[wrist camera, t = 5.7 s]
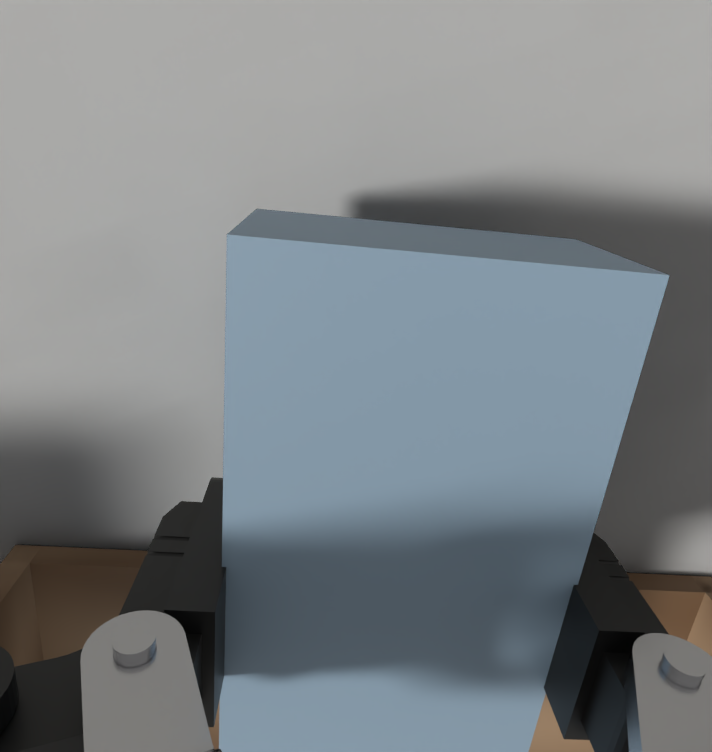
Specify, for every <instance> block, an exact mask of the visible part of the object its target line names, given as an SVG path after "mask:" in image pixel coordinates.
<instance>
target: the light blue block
mask: <svg viewBox="0 0 712 752" xmlns="http://www.w3.org/2000/svg"><path fill="white" fill-rule="evenodd" d="M669 276H670V275H668V274H665V273H663V272H660V271H657V270H655V269H652V268H650V267H647V266H644V265H642V264H639V263H637V262H634V261H631V260H629V259H626V258H624V257H621V256H618V255H616V254H613V253H611V252H608V251H605V250H603V249H600V248H597V247H595V246H592V245H590V244H587V243H584V242H582V241H579V240H577V239H568V238H558V237H547V236H537V235H526V234H516V233H505V232H495V231H484V230H474V229H463V228H453V227H442V226H432V225H421V224H411V223H401V222H390V221H380V220H369V219H359V218H348V217H338V216H327V215H317V214H306V213H296V212H285V211H275V210H264V209H256V210H255V211H254V212H252V213H251V214H250V215H249V216H248V217H247V218H246V219H244V220H243V221H242V222H241V223H240V224H239V225H237V226H236V227H235V228H234V229H233V230H232V231H230V232H229V233H228V234H227V262H226V326H225V390H224V454H223V518H222V567H226V606H225V658H224V679H223V684H222V689H221V694H220V710H219V749H221V751H222V752H529V748H530V745H531V742H532V738H533V735H534V731H535V728H536V725H537V721H538V718H539V715H540V711H541V708H542V704H543V701H544V698H545V694H546V692H545V690H544V685H545V681H546V678H547V674H548V671H549V668H550V664H551V661H552V657H553V654H554V651H555V647H556V644H557V640H558V637H559V634H560V630H561V627H562V623H563V620H564V616H565V613H566V610H567V606H568V603H569V599H570V596H571V593H572V589H573V586H574V585H578V583H579V580H580V576H581V573H582V569H583V566H584V563H585V559H586V556H587V553H588V549H589V546H590V542H591V539H592V536H593V532H594V529H595V526H596V522H597V519H598V515H599V512H600V509H601V505H602V502H603V499H604V495H605V492H606V488H607V485H608V482H609V478H610V475H611V472H612V468H613V465H614V461H615V458H616V455H617V451H618V448H619V444H620V441H621V438H622V434H623V431H624V428H625V424H626V421H627V417H628V414H629V411H630V407H631V404H632V401H633V397H634V394H635V390H636V387H637V384H638V380H639V377H640V374H641V370H642V367H643V363H644V360H645V357H646V353H647V350H648V347H649V343H650V340H651V336H652V333H653V330H654V326H655V323H656V320H657V316H658V313H659V309H660V306H661V303H662V299H663V296H664V293H665V289H666V286H667V282H668V279H669Z"/></svg>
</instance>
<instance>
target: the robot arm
mask: <svg viewBox="0 0 712 752" xmlns="http://www.w3.org/2000/svg"><path fill="white" fill-rule="evenodd" d="M222 518H223V478H213V477H212V478H211V480H210V482H209V485H208V488H207V491H206V493H205V496H204V499H203V502H184V501H181V502H180V503H179V504H178V505H176V506H175V507H174V508H173V509H172V510H170V511H169V512H168V513H167V514H166V515H165V516H163V518H162V520H161V522H160V525H159V527H158V529H157V531H156V534H155V538H154V539H153V540H152V543H151V545H150V547H149V549H148V553H147V555H146V556H145V558H144V560H143V563H142V565H141V567H140V569H139V571H138V574H137V576H136V578H135V580H134V583H133V585H132V587H131V589H130V591H129V594H128V596H127V598H126V600H125V603H124V605H123V607H122V609H121V611H120V614H119V616H117V617H115V618H113V619H111V620H109V621H107V622H105V623H104V624H103V625H101V626H100V627H99V628H97V629H96V630H95V631H94V632H93V633H92V634H91V636H90V637H89V638H88V639H87V641H86V643H85V645H84V646H83V648H82V649H80V650H78V651H76V652H73V653H70V654H68V655H64V656H60V657H57V658H52V659H48V660H43V661H38V662H34V663H29V664H25V665H20V666H15V667H14V663H13V659H12V657H11V655H10V654H9V653H8V652H7V651H6V650H5V649H4V648H2V647H0V752H222V751H221V749H216V750H215V749H214V746H213V743H212V740H211V736H210V732H209V728H208V727H214V724H215V719H216V714H217V709H218V704H219V699H220V694H221V689H222V684H223V679H224V658H225V606H226V567H222ZM544 690H545V692H546V695H547V698H548V700H549V703H550V705H551V708H552V710H553V713H554V715H555V718H556V721H557V723H558V726H559V728H560V731H561V733H562V736H563V738H564V739H572V740H590V743H591V745H592V747H593V750H594V752H712V656H710V655H709V654H708V653H707V652H705V651H704V650H702V649H701V648H699V647H698V646H696V645H694V644H692V643H690V642H688V641H686V640H684V639H681V638H679V637H676V636H672V635H669V634H668V632H667V631H666V629H665V628H664V626H663V625H662V624H661V622H660V621H659V619H658V618H657V616H656V615H655V613H654V612H653V611H652V609H651V608H650V606H649V605H648V603H647V602H646V600H645V599H644V597H643V596H642V595H641V593H640V592H639V590H638V589H637V587H636V586H635V584H634V583H633V582H632V581H629V576H628V574H627V573H626V571H625V570H624V569H623V567H622V566H621V565H619V564H618V560H617V558H616V557H615V556H614V554H613V553H612V551H611V550H610V548H609V547H608V545H607V544H606V542H604V541H603V540H602V539H601V538H599V537H598V536H597V535H596V534H594V533H593V536H592V539H591V542H590V546H589V549H588V553H587V556H586V559H585V563H584V566H583V569H582V573H581V576H580V580H579V583H578V585H574V586H573V589H572V593H571V596H570V599H569V603H568V606H567V610H566V613H565V616H564V620H563V623H562V627H561V630H560V634H559V637H558V640H557V644H556V647H555V651H554V654H553V657H552V661H551V664H550V668H549V671H548V674H547V678H546V681H545V685H544Z"/></svg>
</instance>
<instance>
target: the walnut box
mask: <svg viewBox="0 0 712 752" xmlns="http://www.w3.org/2000/svg"><path fill="white" fill-rule="evenodd" d="M147 553H148V551H139V550H118V549H96V548H74V547H52V546H30V545H15V546H14V547H13V549H12V550H11V551H10V552H9V554H8V555H7V556H6V557H5V559H4V560H3V561H2V562H1V564H0V647H2V648H4V649H5V650H6V651H7V652H8V653H9V654H10V655H11V657H12V659H13V663H14V667H15V666H20V665H25V664H29V663H34V662H38V661H43V660H48V659H52V658H57V657H60V656H64V655H68V654H70V653H73V652H76V651H78V650H80V649H82V648H83V646H84V645H85V643H86V641H87V639H88V638H89V637H90V636H91V634H92V633H93V632H94V631H95V630H96V629H97V628H99V627H100V626H101V625H103V624H104V623H105V622H107V621H109V620H111V619H113V618H115V617H117V616H119V614H120V611H121V609H122V607H123V605H124V603H125V600H126V598H127V596H128V594H129V591H130V589H131V587H132V585H133V583H134V580H135V578H136V576H137V574H138V571H139V569H140V567H141V565H142V563H143V560H144V558H145V556H146V555H147ZM627 574H628V576H629V581H632V582H633V583H634V584H635V586H636V587H637V589H638V590H639V592H640V593H641V595H642V596H643V597H644V599H645V600H646V602H647V603H648V605H649V606H650V608H651V609H652V611H653V612H654V613H655V615H656V616H657V618H658V619H659V621H660V622H661V624H662V625H663V626H664V628H665V629H666V631H667V632H668V634H669V635H672V636H676V637H679V638H681V639H684V640H686V641H688V642H690V643H692V644H694V645H696V646H698V647H699V648H701V649H702V650H704V651H705V652H707V653H708V654H709V655H710V656H712V577H707V576H685V575H663V574H642V573H627ZM219 710H220V699H219V704H218V709H217V714H216V719H215V724H214V727H208V728H209V732H210V736H211V740H212V743H213V746H214V749H215V750H216V749H219ZM529 752H594V750H593V747H592V745H591V743H590V740H572V739H564V738H563V736H562V733H561V731H560V728H559V726H558V723H557V721H556V718H555V715H554V713H553V710H552V708H551V705H550V703H549V700H548V698H547V695H546V694H545V698H544V701H543V704H542V708H541V711H540V715H539V718H538V721H537V725H536V728H535V731H534V735H533V738H532V742H531V745H530V748H529Z"/></svg>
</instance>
